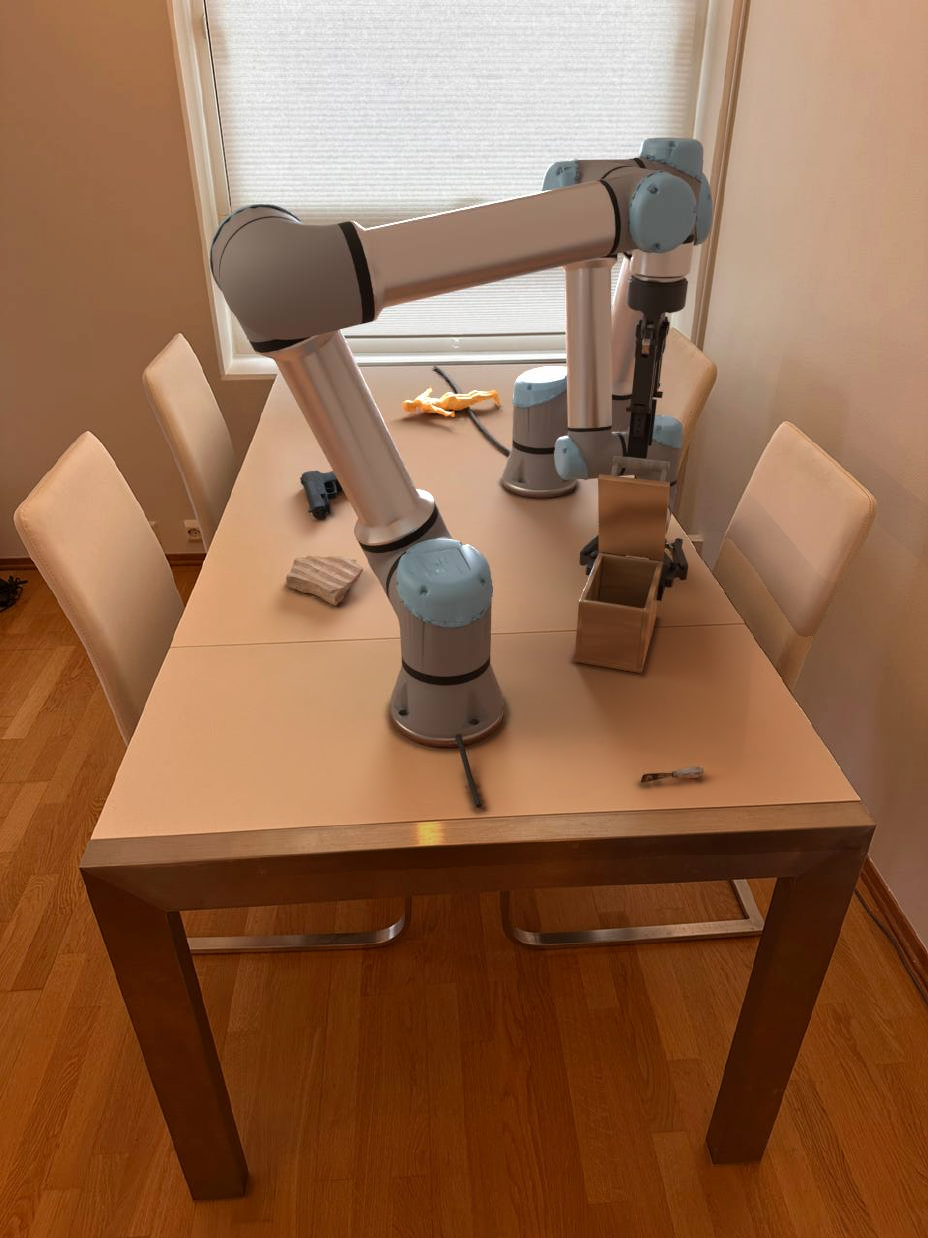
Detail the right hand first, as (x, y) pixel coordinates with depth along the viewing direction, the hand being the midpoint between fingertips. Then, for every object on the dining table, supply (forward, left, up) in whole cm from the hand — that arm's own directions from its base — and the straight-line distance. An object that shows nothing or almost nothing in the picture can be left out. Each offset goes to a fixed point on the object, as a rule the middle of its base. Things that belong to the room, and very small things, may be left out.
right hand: (624, 587), depth 136 cm
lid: (0, 0, +11) cm, 11 cm away
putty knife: (+35, -4, -7) cm, 36 cm away
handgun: (-54, -44, -7) cm, 70 cm away
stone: (-19, -46, -7) cm, 50 cm away
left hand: (-2, +1, +22) cm, 22 cm away
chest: (+4, -2, -7) cm, 8 cm away
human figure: (-105, -15, -7) cm, 106 cm away
